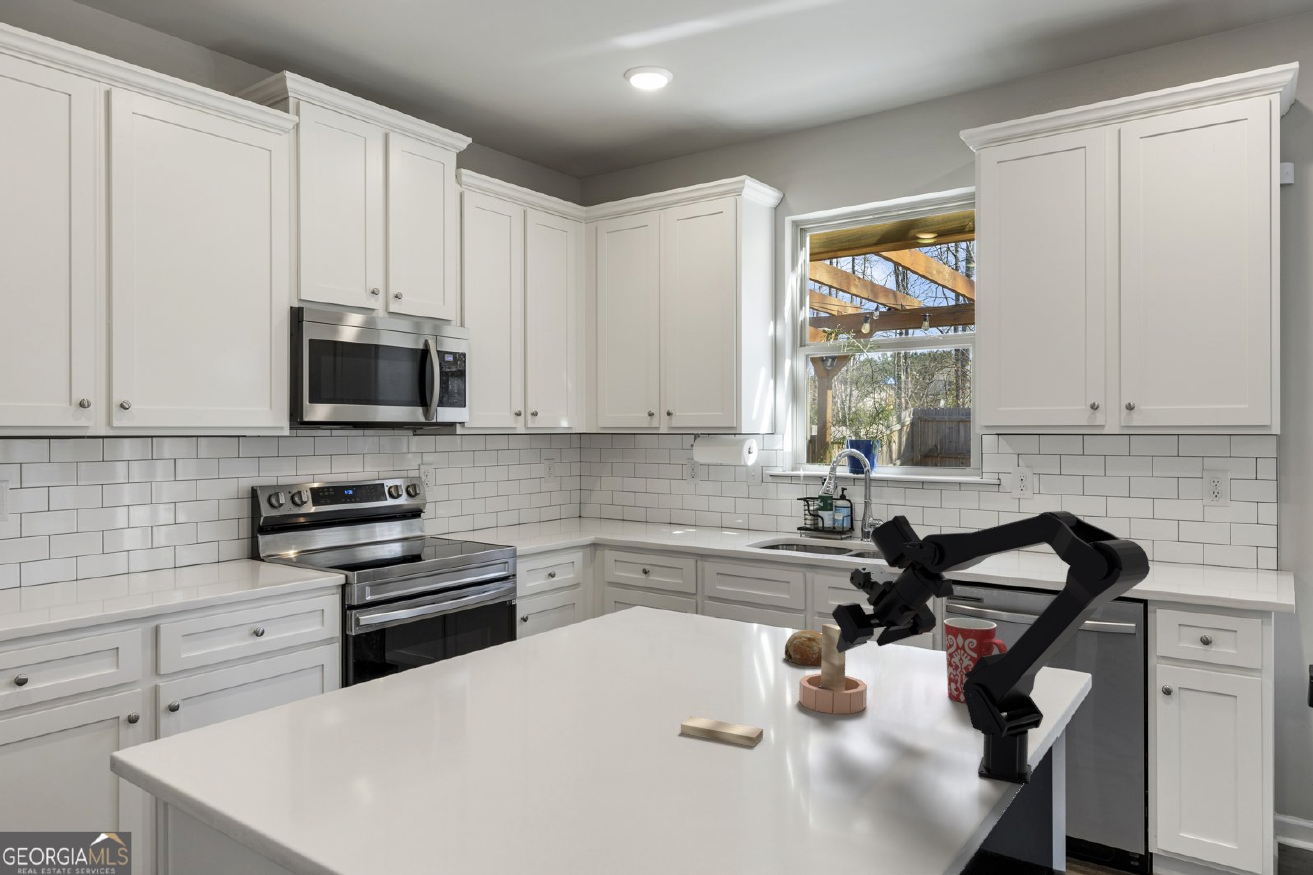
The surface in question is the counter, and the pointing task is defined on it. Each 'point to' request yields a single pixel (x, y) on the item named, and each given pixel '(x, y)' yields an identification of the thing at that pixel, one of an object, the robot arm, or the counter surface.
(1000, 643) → the mug
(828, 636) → the wooden pillar
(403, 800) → the counter surface
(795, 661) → the bread roll
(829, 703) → the bowl
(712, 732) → the light wooden flat block
